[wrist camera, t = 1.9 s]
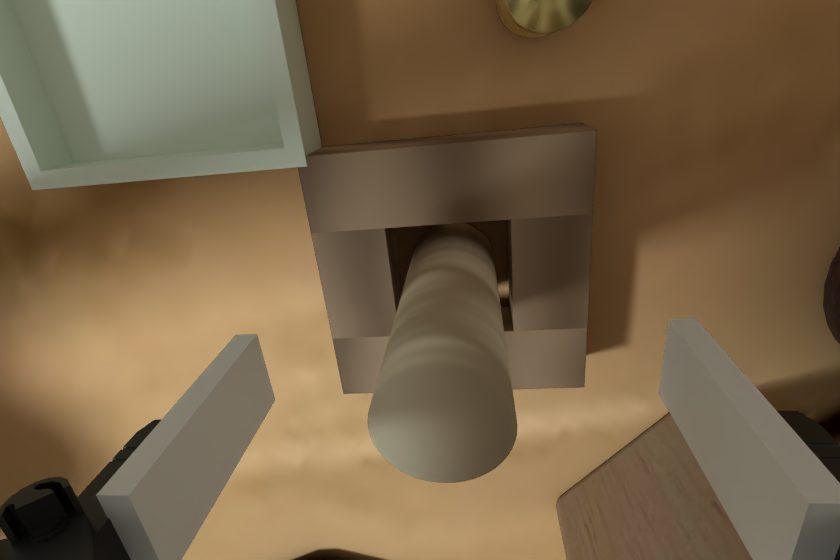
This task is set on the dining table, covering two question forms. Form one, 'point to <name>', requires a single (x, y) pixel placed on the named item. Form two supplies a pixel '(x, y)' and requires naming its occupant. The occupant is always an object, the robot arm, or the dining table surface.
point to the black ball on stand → (833, 297)
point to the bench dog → (539, 15)
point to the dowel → (446, 364)
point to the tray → (153, 89)
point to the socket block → (458, 203)
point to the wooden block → (648, 506)
